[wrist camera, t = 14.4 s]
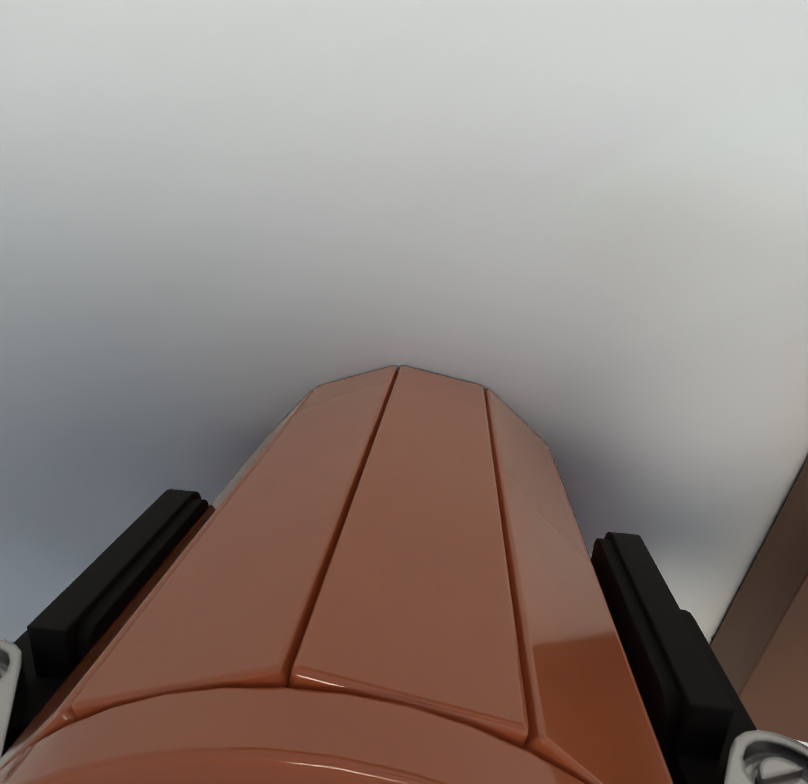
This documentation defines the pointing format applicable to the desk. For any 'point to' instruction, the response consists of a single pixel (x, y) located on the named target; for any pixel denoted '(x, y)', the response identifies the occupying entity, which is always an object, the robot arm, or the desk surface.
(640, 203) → the desk surface
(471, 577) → the cup
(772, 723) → the holder
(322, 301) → the desk surface
